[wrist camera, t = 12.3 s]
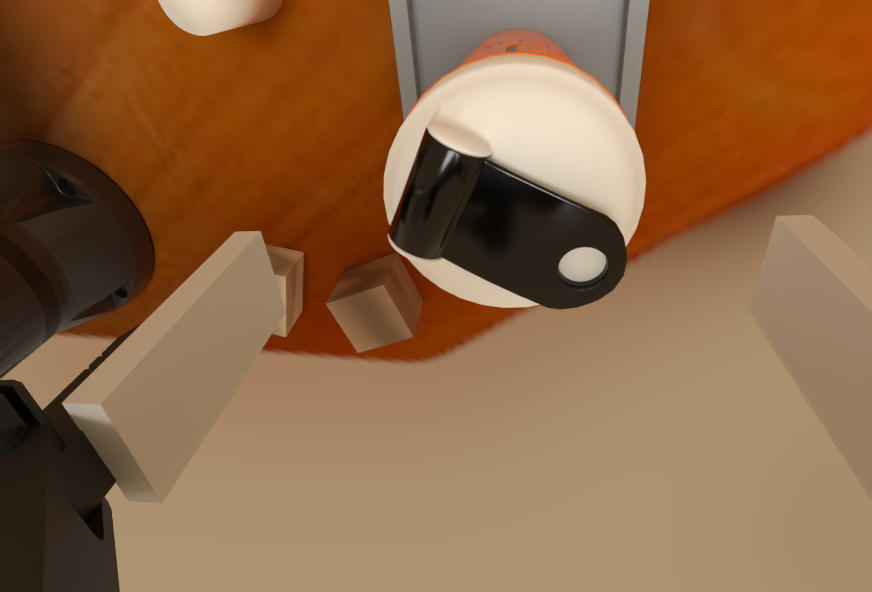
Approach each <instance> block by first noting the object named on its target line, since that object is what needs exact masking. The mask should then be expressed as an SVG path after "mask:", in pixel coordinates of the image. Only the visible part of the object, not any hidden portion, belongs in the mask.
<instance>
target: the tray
mask: <svg viewBox="0 0 872 592" xmlns="http://www.w3.org/2000/svg"><path fill="white" fill-rule="evenodd" d="M389 6H390V14H391V22H392V30H393V38H394V46H395V54H396V62H397V70H398V78H399V86H400V94H401V102H402V110H403V118H404V121H405V119H406V117H407V115H408V113H409V112H410V111H411V109H412V108H413V107H414V105H415V104H416V102H417V101H418V100H419V98H420V97H421V96H422V94H423V93H425V92H426V91H427V90H428V89H429V88H430V87H431V86H432V85H433V84H434V83H436V82H437V81H438V80H439V79H440V78H441V77H443V76H444V75H446V74H448V73H449V72H451V71H453V70H454V69H456V68H457V67H458V66H459V65H460V64H461V63H462V62H463V61H464V60H465V59H466V58H467V57H468V55H469V54H470V53H471V52H472V51H473V50H474V49H475V48H476V47H477V46H478V45H479V44H481V43H482V42H483V41H484V40H485V39H487V38H489V37H490V36H492V35H494V34H496V33H499V32H502V31H504V30H509V29H517V28H520V29H530V30H533V31H536V32H539V33H542V34H544V35H545V36H547V37H549V38H550V39H552V40H553V41H554V42H555V43H556V44H557V45H558V46H559V47H560V48H561V49H562V50H563V51H564V52H565V53H566V55H567V56H568V57H569V58H570V59H571V60H572V61H573V63H574V64H575V65H576V66H577V67H578V68H580V69H582V70H583V71H585V72H587V73H588V74H590V75H592V76H593V77H594V78H596V79H597V80H598V81H599V82H600V83H601V84H602V85H603V86H604V87H605V88H606V89H607V90H608V91H609V92H610V93H611V94H612V95H613V96H614V98H615V99H616V101H617V102H618V104H619V105H620V107H621V109H622V110H623V112H624V113H625V115H626V116H627V119H628V122H629V124H630V125H631V127H632V128H633V130H635V121H636V112H637V104H638V95H639V87H640V78H641V69H642V61H643V52H644V43H645V35H646V26H647V17H648V9H649V0H389Z"/></svg>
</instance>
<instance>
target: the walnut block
mask: <svg viewBox="0 0 872 592" xmlns="http://www.w3.org/2000/svg"><path fill="white" fill-rule="evenodd" d="M423 302H424V300H423V299H422V297H421V295H420V293H419V291H418V289H417V288H416V286H415V284H414V282H413V280H412V278H411V277H410V275H409V273H408V271H407V269H406V267H405V266H404V264H403V262H402V260H401V258H400V256H399V255H398V253H397V252H395V253H392V254H390V255H387V256H384V257H381V258H378V259H375V260H373V261H370V262H367V263H364V264H361V265H359V266H356V267H353V268H350V269H347V270H344V272H343V274H342V276H341V277H340V279H339V281H338V283H337V284H336V286H335V288H334V290H333V292H332V293H331V295H330V297H329V299H328V300H327V302H326V305H327V307H328V309H329V310H330V312H331V313H332V315H333V316H334V318H335V319H336V321H337V322H338V324H339V325H340V327H341V328H342V330H343V331H344V333H345V334H346V336H347V337H348V339H349V340H350V342H351V343H352V345H353V346H354V348H355V349H356V351H357V352H358V353H360V352H364V351H367V350H371V349H374V348H378V347H381V346H385V345H388V344H392V343H395V342H399V341H402V340H406V339H409V338H413V337H414V334H415V331H416V327H417V324H418V320H419V317H420V313H421V309H422V306H423Z"/></svg>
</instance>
